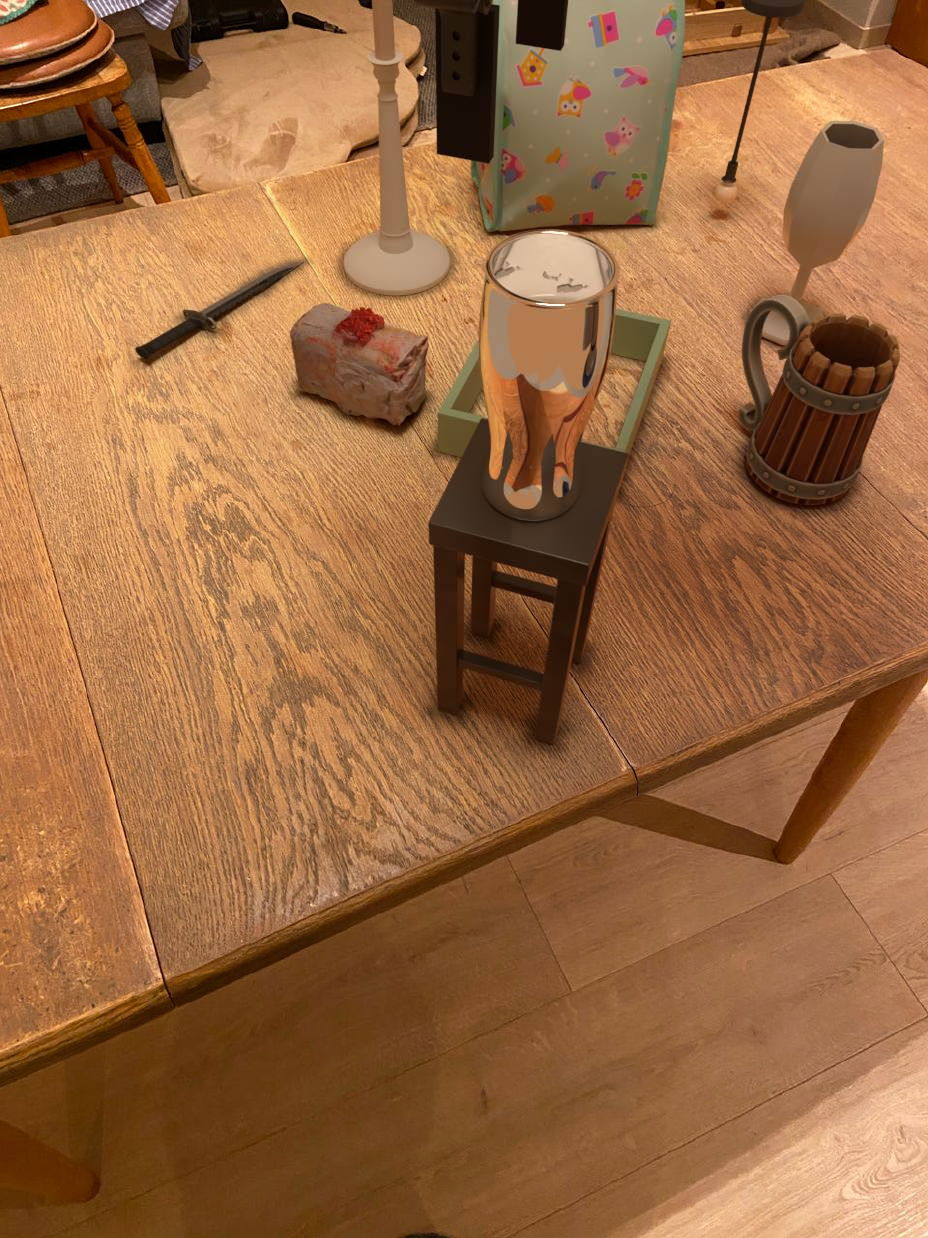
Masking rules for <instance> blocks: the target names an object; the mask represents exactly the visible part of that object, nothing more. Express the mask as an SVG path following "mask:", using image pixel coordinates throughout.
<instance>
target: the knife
mask: <svg viewBox="0 0 928 1238" xmlns="http://www.w3.org/2000/svg"><path fill="white" fill-rule="evenodd" d="M302 263H304V261H298V262H293V263H289V264H286V265H282V266H279V267H276V268H274V269H272V270H270V271H268V272H266V273H264V274H262V275H260V276H259V277H257V278H255V279H253V280H251V281H250V282H248V283H246V284H245V285H243V286H241V287H239V288H238V289H236V290H234V291H232V292H231V293H228V295H225V296H224V297H222V298H220V299H219V300H217V301H216V302H214V303H212V304H210V305H208V306H206V307H205V308H204V309H201V310H199V311H197V310H194V309H183V310H182V313H183V316H184V318H186V320H184V321H182V322H181V323H179V324H177V325H175V326H174V327H172V328H169V330H167V331H165V332H163V333H162V334H160V335H158V336H156V337H154V338H152V339H151V340H150V341H148V342H146V343H143V344H142V345H140V346H136V347H135V349H134V350H135V353H136V354H137V355H138V356H139V357H140V358H141V359H144V360H148V359H150V358H151V356H153V355H155V353H157V352H159V351H161V350H162V349H164V348H165V347H167V346H170V345H171V344H172V343H174V342H176V341H177V340H179V339H181V338H182V337H184V336H186V335H187V334H189V333H191V332H193V331H195V330H196V329H197V328H198V327H201V328H203V329H204V330H206V331H208V330H210V331H215V330H216V329H217V324H216V322H215V320H214V319H215V318H217V317H219V316H220V315H221V314H224V313H226V311H229V310H231V309H232V308H234V307H236V306H237V305H238V304H241V303H243V301H246V300H248V298H251V297H253V296H254V294H258V293H259V292H260V291H263V290H264V289H266V288H267V287H268V286H270V285H271V284H273V283H274V282H276V281H277V280H279V279H280V278H282V277H284V276H285V275H286V274H288V273H290V272H291V271H292V270H294V269H295V268H297V267H298V266H299V265H301V264H302ZM209 322H211V323H212V326H213V327H212V326H211V325H210V323H209Z"/></svg>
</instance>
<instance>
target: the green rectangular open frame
mask: <svg viewBox="0 0 928 1238" xmlns="http://www.w3.org/2000/svg"><path fill="white" fill-rule="evenodd" d="M671 323H672V320H670V319H667V318H661V317H656V316H652V315H647V314H642V313H639V312H632V311H629V310H624V309H619V308H616V315H615V326H614V334H613V341H612V348H611V353H610V355H615V356H620V357H624V358H628V359H633V360H638V361H641V362H642V361H643V362H645V363H644V366H643V370H642V373H641V375H640V378H639V381H638V384H637V386H636V389H635V392H634V394H633V397H632V400H631V403H630V406H629V408H628V410H627V413H626V417H625V419H624V421H623V425H622V427H621V430H620V433H619V436H618V438H617V441H616V444H615V447H612V446H606V445H603V444H599V443H595V442H591V441H587V440H583V439H582V440H581V442H583V443H588V444H592V445H596V446H600V447H604V448H608V449H613V450H617V451H621V452H625V453H628V458H629V457H630V455H631V451H632V449H633V447H634V443H635V440H636V437H637V434H638V431H639V429H640V426H641V422H642V419H643V417H644V414H645V411H646V408H647V406H648V403H649V399H650V397H651V394H652V391H653V388H654V385H655V382H656V379H657V376H658V373H659V370H660V368H661V365H662V362H663V359H664V354H665V350H666V346H667V342H668V341H667V340H668V336H669V332H670V328H671ZM482 390H483V389H482V383H481V375H480V366H479V339H477V341H476V342H475V345H474V346H473V348H472V350H471V351H470V354H469V355H468V357H467V359H466V360H465V362H464V364H463V366H462V368H461V370H460V371H459V373H458V375H457V377H456V378H455V381H454V382H453V384H452V386H451V388H450V390H449V392H448V393H447V395H446V397H445V399H444V401H443V402H442V404H441V406H440V408H439V410H438V411H437V445H438V446H437V447H438V449H437V450H438V452H439V453H442V454H446V455H450V456H454V457H457V458H461V457H462V455H463V453H464V451H465V449H466V447H467V445H468V443H469V441H470V439H471V437H472V435H473V433H474V431H475V429H476V427H477V425H478V423H479V421H480V420H481V418H484V419H488V416H483V415H479V414H475V413H474V414H473V413H471V410H472V408H473V406H474V404H475V403H476V401H477V399H478V397H479V395H480V393H481V391H482Z"/></svg>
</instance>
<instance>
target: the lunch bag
mask: <svg viewBox="0 0 928 1238" xmlns="http://www.w3.org/2000/svg"><path fill="white" fill-rule="evenodd" d="M492 4H494V5H500V13H499V37H498V61H497V86H496V110H495V134H494V157H493V158H492V160H491V161H490V163H489V164H488V163H482V162H477V161H471V160H470V175H471V176H470V177H471V180H472V181H473V183H474V185H475V186H476V187H477V188H478V191H477V194H478V200H479V206H480V210H481V215H482V220H483V224H484V228H485V230H486V231H487V232H488V233H493V232H495V231H499V232H507V231H519V230H527V229H528V230H530V229H531V230H532V229H537V228H546V227H547V228H548V227H549V228H550V227H552V228H553V227H560V226H582V225H585V226H587V225H589V226H610V225H612V226H614V225H615V226H616V225H617V226H618V225H645V226H652V225H654V223H655V221H656V216H657V210H658V206H659V200H660V196H661V191H662V188H663V182H664V176H665V171H666V166H667V161H668V154H669V147H670V139H671V129H672V123H673V116H674V108H675V99H676V93H677V87H678V83H679V78H680V71H681V65H682V61H683V55H684V47H685V38H686V37H685V36H686V35H685V34H686V33H685V32H686V31H685V30H686V0H568V9H567V20H566V30H565V41H564V47H563V48H562V50H561V51H558V50H552V49H545V48H539V47H533V46H526V45H520V44H516V26H517V8H518V0H493V2H492Z"/></svg>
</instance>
